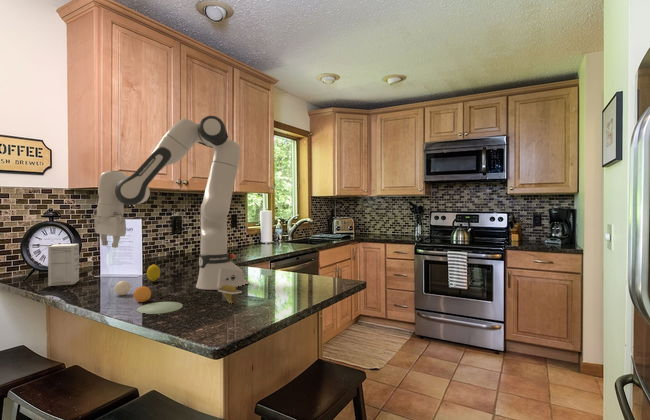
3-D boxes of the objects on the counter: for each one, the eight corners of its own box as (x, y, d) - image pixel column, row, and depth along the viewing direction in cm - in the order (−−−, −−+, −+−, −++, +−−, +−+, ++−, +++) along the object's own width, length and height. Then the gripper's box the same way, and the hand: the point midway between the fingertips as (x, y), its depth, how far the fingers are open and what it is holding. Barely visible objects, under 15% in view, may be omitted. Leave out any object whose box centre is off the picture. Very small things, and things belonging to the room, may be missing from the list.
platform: (233, 312, 117) (234, 292, 117) (197, 303, 126) (197, 285, 126) (258, 304, 127) (258, 285, 127) (223, 297, 136) (223, 280, 136)
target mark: (173, 300, 129) (173, 299, 129) (189, 308, 119) (189, 307, 119) (131, 307, 119) (131, 306, 119) (144, 316, 109) (144, 316, 109)
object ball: (148, 299, 130) (148, 284, 130) (153, 302, 126) (153, 286, 126) (131, 301, 126) (131, 286, 126) (136, 304, 122) (136, 288, 122)
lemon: (162, 280, 162) (162, 263, 162) (155, 283, 157) (155, 265, 157) (151, 280, 163) (151, 262, 163) (143, 282, 157) (144, 264, 157)
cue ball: (128, 292, 139) (128, 278, 139) (132, 295, 135) (132, 281, 135) (112, 295, 135) (112, 280, 135) (116, 297, 131) (116, 283, 131)
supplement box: (79, 280, 160) (80, 243, 160) (74, 284, 152) (75, 245, 152) (53, 281, 156) (54, 243, 156) (47, 286, 148) (47, 246, 148)
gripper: (131, 212, 136) (130, 248, 136) (108, 211, 149) (107, 243, 149) (113, 212, 131) (112, 249, 131) (91, 210, 144) (90, 244, 144)
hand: (109, 246), depth 140 cm, fingers open, 8 cm apart
